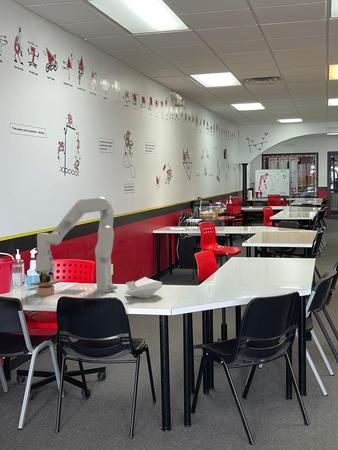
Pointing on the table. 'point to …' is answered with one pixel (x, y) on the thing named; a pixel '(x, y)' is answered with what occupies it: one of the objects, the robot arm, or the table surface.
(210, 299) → the table surface
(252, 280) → the table surface
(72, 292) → the mat
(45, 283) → the lid
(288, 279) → the table surface
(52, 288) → the bowl
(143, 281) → the paper
